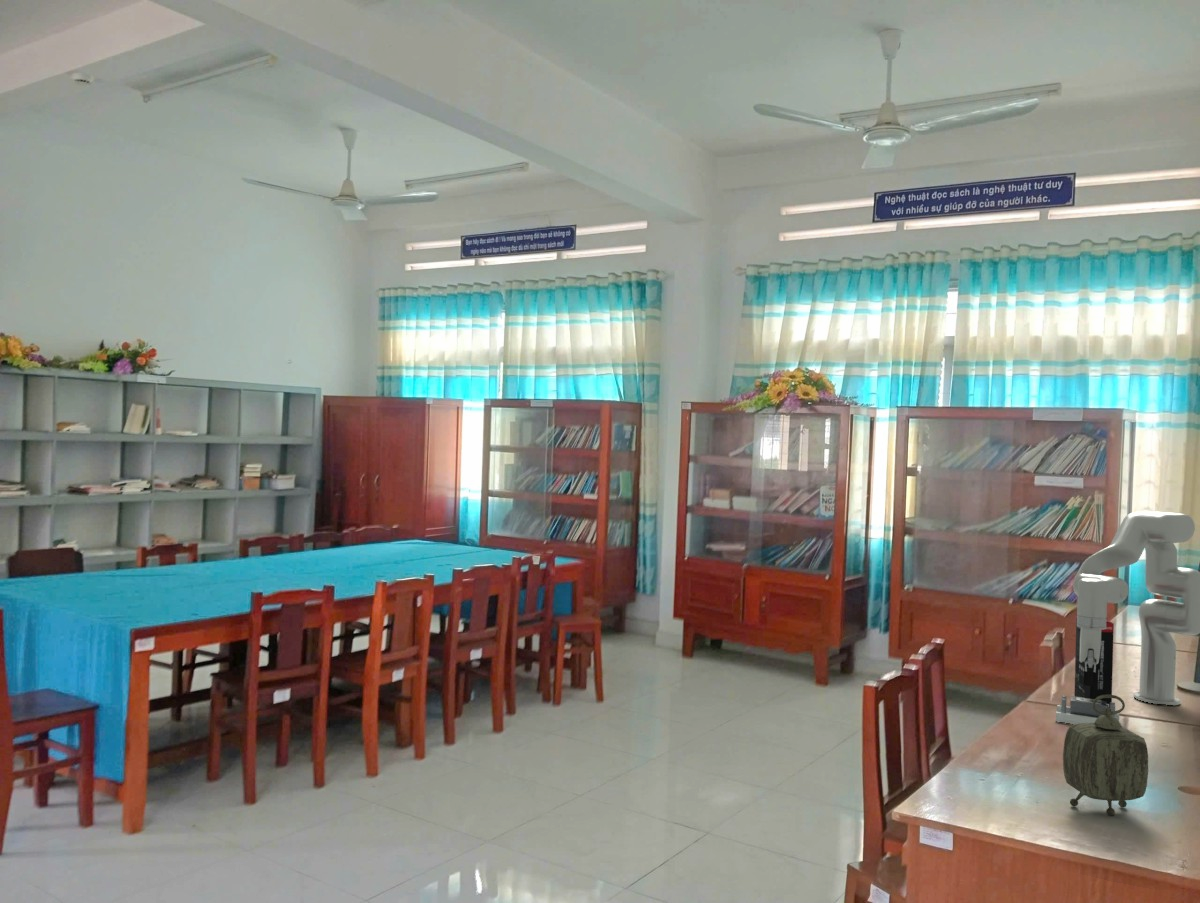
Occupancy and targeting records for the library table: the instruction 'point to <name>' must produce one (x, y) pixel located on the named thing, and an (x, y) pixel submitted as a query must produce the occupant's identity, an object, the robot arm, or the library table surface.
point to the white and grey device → (1066, 717)
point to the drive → (1086, 707)
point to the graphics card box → (1103, 667)
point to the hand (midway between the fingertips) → (1090, 681)
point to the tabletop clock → (1105, 759)
